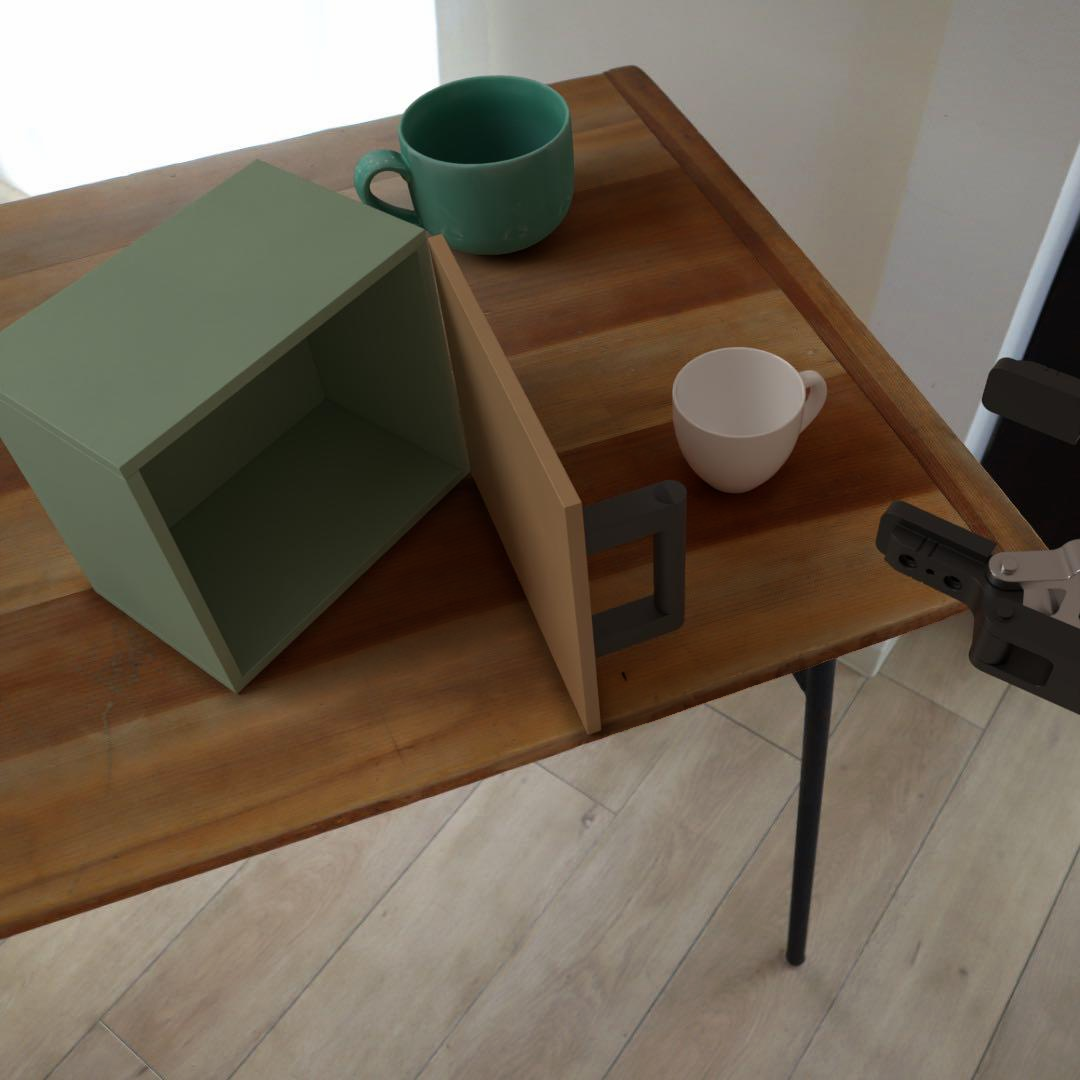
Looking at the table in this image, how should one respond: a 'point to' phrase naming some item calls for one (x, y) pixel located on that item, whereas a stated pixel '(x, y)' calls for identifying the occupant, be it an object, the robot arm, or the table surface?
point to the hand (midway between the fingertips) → (938, 448)
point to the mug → (481, 163)
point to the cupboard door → (555, 506)
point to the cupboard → (238, 413)
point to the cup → (742, 414)
